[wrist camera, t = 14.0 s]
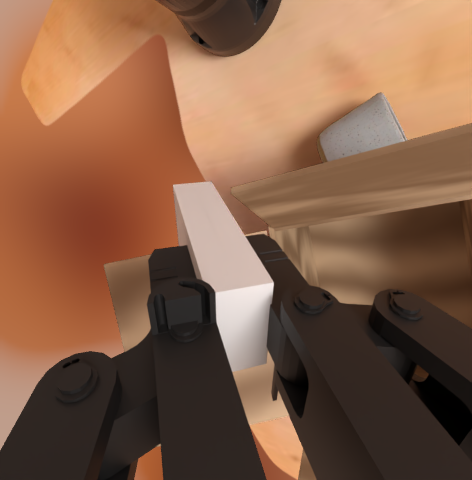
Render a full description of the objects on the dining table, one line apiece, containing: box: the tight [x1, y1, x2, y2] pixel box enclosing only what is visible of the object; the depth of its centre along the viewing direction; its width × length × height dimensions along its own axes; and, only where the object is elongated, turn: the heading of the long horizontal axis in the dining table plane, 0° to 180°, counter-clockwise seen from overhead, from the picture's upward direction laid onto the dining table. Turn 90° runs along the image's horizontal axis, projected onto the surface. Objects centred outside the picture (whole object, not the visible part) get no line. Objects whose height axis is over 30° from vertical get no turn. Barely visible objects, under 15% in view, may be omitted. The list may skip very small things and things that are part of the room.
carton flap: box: [104, 230, 289, 447], centre depth 34 cm, size 20×17×1 cm
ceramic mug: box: [317, 92, 407, 163], centre depth 35 cm, size 11×8×8 cm
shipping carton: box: [231, 123, 472, 480], centre depth 29 cm, size 30×26×19 cm
